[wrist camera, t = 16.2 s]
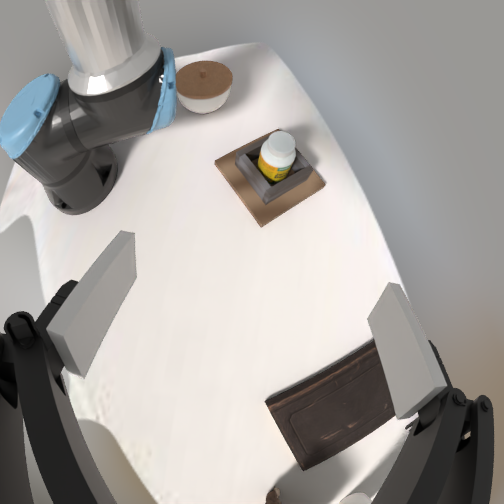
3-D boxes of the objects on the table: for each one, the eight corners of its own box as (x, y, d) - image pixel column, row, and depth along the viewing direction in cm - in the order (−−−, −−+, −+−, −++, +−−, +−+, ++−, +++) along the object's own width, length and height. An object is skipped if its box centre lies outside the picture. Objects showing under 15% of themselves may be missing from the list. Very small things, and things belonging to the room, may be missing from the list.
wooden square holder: (214, 164, 47) (214, 148, 42) (277, 132, 50) (282, 115, 45) (261, 227, 45) (266, 217, 40) (323, 187, 48) (333, 174, 43)
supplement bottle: (270, 153, 47) (281, 121, 38) (292, 173, 47) (308, 144, 37) (248, 170, 46) (255, 139, 37) (271, 192, 45) (283, 163, 36)
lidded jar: (168, 103, 49) (161, 70, 40) (209, 80, 51) (208, 48, 42) (198, 131, 48) (196, 98, 39) (241, 105, 50) (245, 72, 41)
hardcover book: (402, 402, 42) (409, 405, 40) (299, 465, 38) (303, 471, 35) (379, 335, 44) (386, 336, 42) (263, 400, 40) (266, 404, 38)
